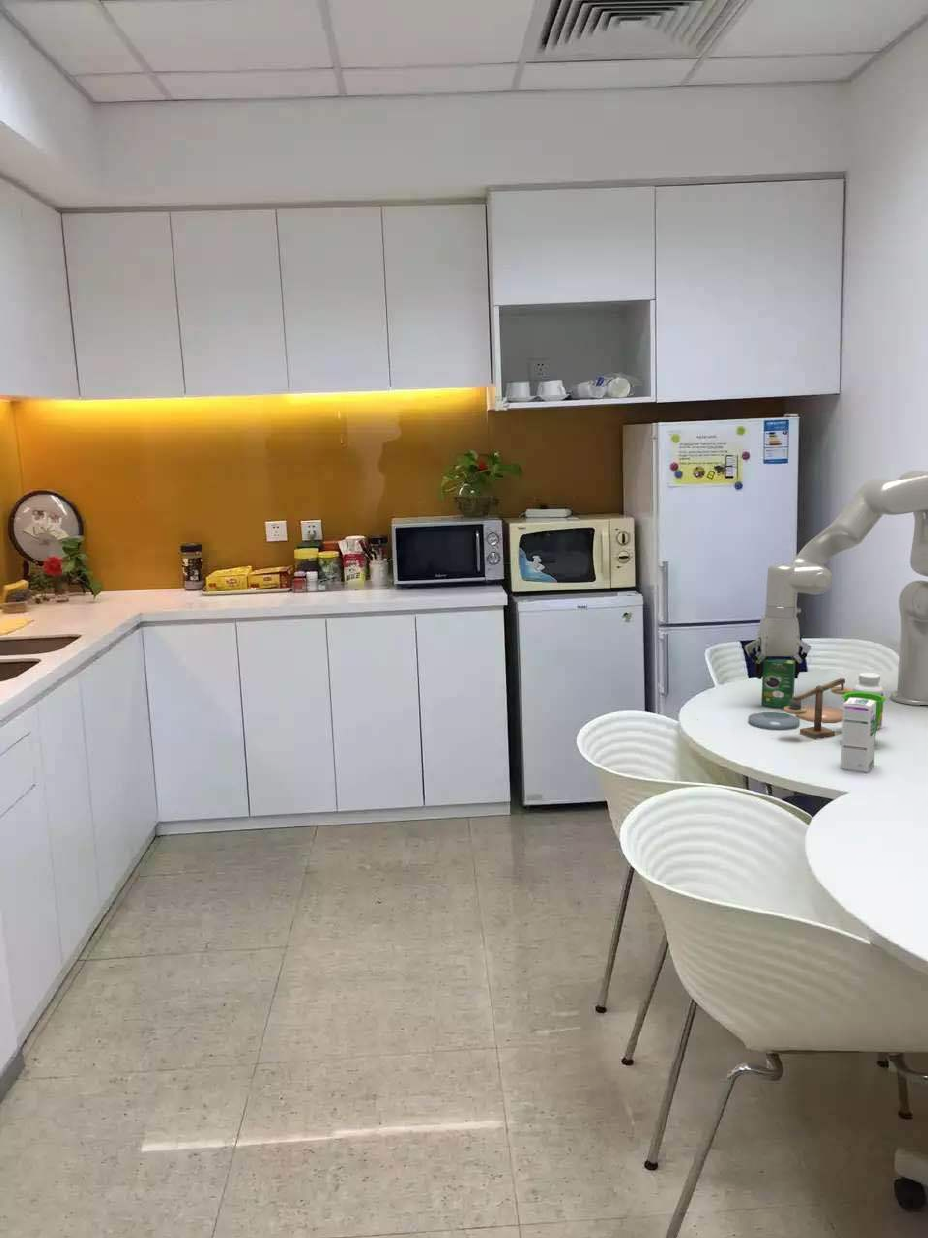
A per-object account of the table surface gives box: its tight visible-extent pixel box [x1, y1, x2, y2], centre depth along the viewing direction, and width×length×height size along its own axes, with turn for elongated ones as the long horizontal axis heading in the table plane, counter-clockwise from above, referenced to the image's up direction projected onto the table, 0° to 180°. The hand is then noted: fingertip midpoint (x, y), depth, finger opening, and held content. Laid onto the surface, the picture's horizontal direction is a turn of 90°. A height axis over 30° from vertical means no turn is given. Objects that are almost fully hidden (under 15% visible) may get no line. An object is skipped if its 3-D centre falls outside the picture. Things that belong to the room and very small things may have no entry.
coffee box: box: [761, 656, 796, 710], centre depth 259 cm, size 8×3×13 cm, turn 62°
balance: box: [783, 677, 854, 740], centre depth 236 cm, size 19×5×13 cm, turn 112°
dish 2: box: [795, 704, 843, 724], centre depth 252 cm, size 12×12×1 cm
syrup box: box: [840, 697, 876, 773], centre depth 213 cm, size 6×6×14 cm
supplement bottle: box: [853, 672, 884, 730], centre depth 241 cm, size 7×7×13 cm
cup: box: [841, 692, 886, 736], centre depth 229 cm, size 9×9×11 cm
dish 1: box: [748, 711, 801, 731], centre depth 247 cm, size 12×12×1 cm
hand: (776, 677), depth 260 cm, fingers open, 9 cm apart
